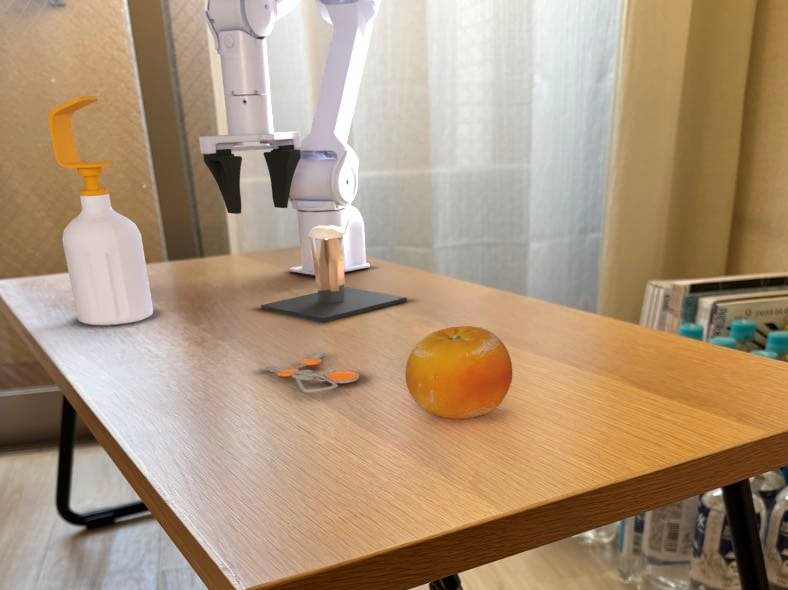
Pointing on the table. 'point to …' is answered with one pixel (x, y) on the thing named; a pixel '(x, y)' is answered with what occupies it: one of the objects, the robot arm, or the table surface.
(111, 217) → the soap bottle
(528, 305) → the table surface
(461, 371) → the fruit
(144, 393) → the table surface
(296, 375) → the key chain
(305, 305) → the mat
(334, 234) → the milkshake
